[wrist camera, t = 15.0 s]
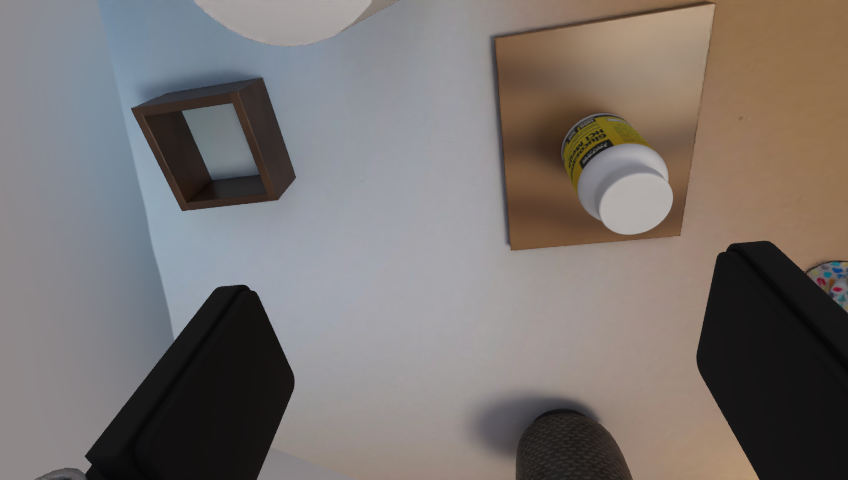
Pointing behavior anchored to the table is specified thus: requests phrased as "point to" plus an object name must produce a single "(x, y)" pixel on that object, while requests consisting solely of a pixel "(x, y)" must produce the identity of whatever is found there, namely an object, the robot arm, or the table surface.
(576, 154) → the pill bottle
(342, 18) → the cylindrical container
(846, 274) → the figurine
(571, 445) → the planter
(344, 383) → the table surface
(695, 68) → the board
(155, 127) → the holder
